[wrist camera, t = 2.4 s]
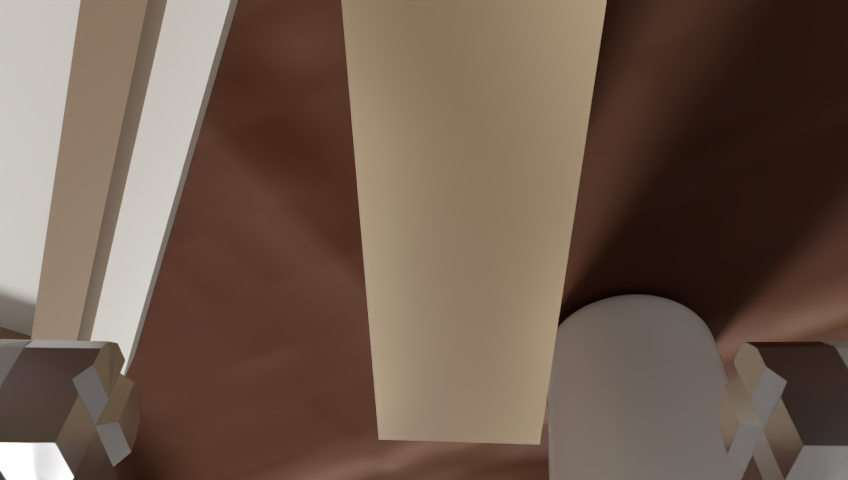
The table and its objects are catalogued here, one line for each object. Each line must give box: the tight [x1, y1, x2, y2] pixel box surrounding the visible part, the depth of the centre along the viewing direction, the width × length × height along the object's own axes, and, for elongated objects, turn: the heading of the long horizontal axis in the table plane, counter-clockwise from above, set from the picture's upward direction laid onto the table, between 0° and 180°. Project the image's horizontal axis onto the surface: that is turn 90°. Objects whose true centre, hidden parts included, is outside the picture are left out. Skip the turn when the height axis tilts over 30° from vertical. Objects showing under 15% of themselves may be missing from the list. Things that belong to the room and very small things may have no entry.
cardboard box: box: [342, 0, 607, 445], centre depth 15 cm, size 4×11×7 cm, turn 1°
